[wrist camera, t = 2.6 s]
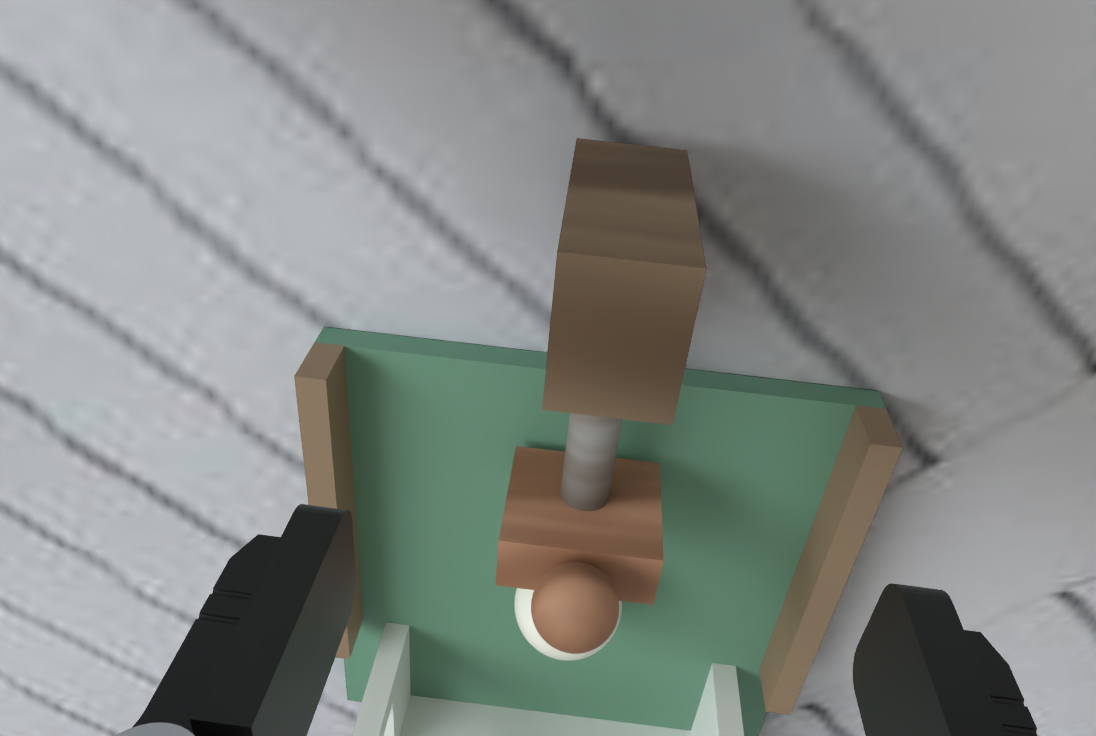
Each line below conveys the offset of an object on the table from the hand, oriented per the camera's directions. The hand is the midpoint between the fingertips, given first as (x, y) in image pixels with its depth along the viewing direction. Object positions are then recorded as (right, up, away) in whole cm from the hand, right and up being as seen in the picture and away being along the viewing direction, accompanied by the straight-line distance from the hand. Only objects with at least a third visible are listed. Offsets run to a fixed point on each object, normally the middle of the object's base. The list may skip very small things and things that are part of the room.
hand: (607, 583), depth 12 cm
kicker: (+1, +4, +14) cm, 14 cm away
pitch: (0, -5, +21) cm, 22 cm away
